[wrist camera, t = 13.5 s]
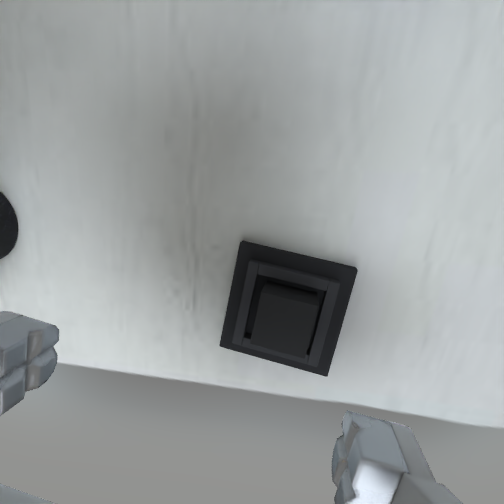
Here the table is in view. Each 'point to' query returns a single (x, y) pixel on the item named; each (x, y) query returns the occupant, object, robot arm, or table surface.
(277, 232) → the table surface
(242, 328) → the base pad
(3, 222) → the travel mug
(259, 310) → the black square block
